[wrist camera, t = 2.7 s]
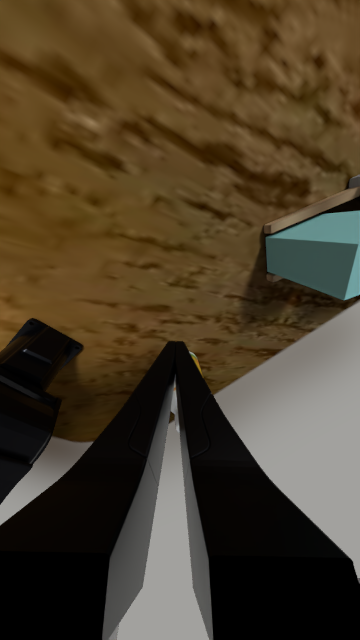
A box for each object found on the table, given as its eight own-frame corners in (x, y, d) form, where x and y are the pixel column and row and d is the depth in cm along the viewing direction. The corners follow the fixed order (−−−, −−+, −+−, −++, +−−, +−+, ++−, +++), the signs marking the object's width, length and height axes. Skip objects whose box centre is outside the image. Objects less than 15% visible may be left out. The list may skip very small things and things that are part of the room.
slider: (267, 271, 19) (344, 300, 11) (265, 237, 17) (358, 244, 9) (331, 245, 18) (459, 256, 11) (338, 206, 16) (503, 185, 8)
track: (266, 279, 20) (272, 282, 19) (263, 225, 16) (270, 224, 15) (336, 251, 19) (346, 252, 18) (348, 188, 16) (361, 185, 15)
